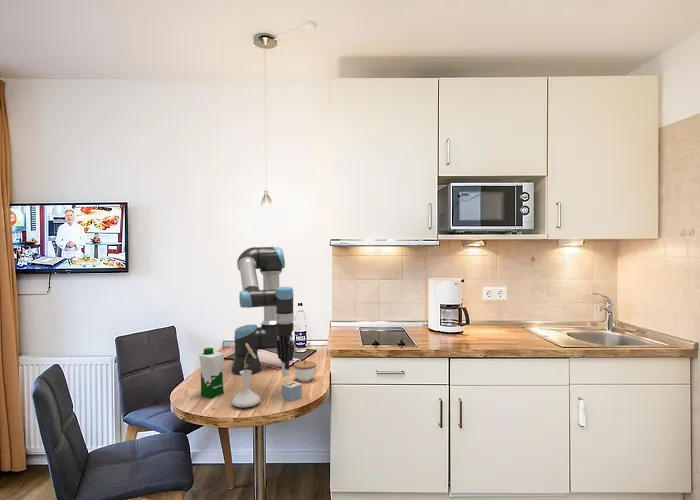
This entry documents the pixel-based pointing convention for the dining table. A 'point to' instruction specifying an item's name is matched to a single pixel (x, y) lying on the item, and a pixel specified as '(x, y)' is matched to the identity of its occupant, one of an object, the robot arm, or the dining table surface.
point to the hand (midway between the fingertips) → (285, 376)
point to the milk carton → (211, 373)
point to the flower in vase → (246, 388)
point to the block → (291, 391)
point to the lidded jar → (305, 370)
